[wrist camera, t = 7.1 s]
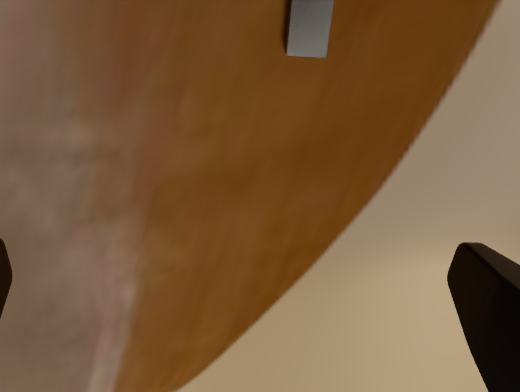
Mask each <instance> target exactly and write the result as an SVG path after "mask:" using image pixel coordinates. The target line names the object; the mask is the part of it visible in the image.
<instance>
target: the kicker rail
mask: <svg viewBox="0 0 520 392" xmlns="http://www.w3.org/2000/svg"><path fill="white" fill-rule="evenodd" d="M333 4H334V0H290V8H289V19H288V29H287V39H286V50H285V53H286V55H287V56H304V57H323V58H326V53H327V46H328V39H329V32H330V25H331V18H332V11H333Z"/></svg>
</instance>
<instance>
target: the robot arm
mask: <svg viewBox="0 0 520 392" xmlns="http://www.w3.org/2000/svg"><path fill="white" fill-rule="evenodd" d="M447 281H448V286H449V289H450V292H451V295H452V298H453V301H454V304H455V307H456V310H457V313H458V316H459V319H460V323H461V326H462V328H463V332H464V335H465V338H466V340H467V343H468V346H469V349H470V351H471V354H472V356H473V358H474V361H475V363H476V365H477V367H478V369H479V372H480V374H481V376H482V378H483V381H484V383H485V385H486V387H487V389H488V392H520V265H519V264H517V263H515V262H514V261H512V260H510V259H508V258H507V257H505V256H503V255H501V254H499V253H498V252H496V251H494V250H493V249H491V248H489V247H487V246H486V245H484V244H482V243H467V242H466V243H465V242H464V243H461V244H459V246H458V247H457V249H456V252H455V254H454V257H453V260H452V263H451V266H450V268H449V271H448V276H447ZM11 283H12V269H11V265H10V262H9V258H8V254H7V250H6V247H5V244H4V241H3V240H2V239H1V238H0V318H1V315H2V311H3V308H4V305H5V302H6V299H7V296H8V293H9V289H10V286H11Z"/></svg>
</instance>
